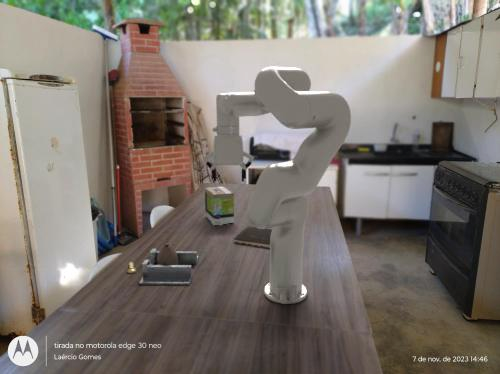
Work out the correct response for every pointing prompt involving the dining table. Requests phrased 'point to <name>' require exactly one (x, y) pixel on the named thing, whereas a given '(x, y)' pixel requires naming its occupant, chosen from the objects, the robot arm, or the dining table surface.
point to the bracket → (168, 269)
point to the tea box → (219, 205)
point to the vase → (167, 256)
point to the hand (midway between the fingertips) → (229, 180)
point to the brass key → (131, 268)
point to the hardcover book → (254, 236)
